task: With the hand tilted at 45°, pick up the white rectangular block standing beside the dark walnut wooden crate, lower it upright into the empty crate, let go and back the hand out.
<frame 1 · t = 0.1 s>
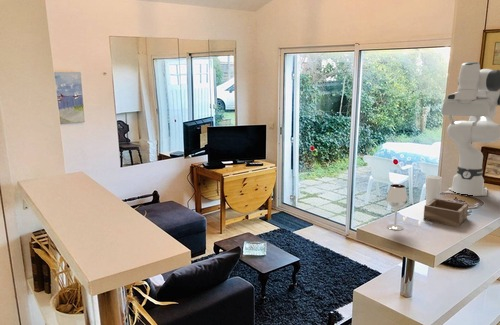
hand: (463, 125, 189), 39 cm above the table, tool pointing down, fingers open, 8 cm apart
white rectangular block: (431, 207, 190), on the table
wineglass: (394, 227, 164), on the table
walnut crate: (445, 219, 173), on the table
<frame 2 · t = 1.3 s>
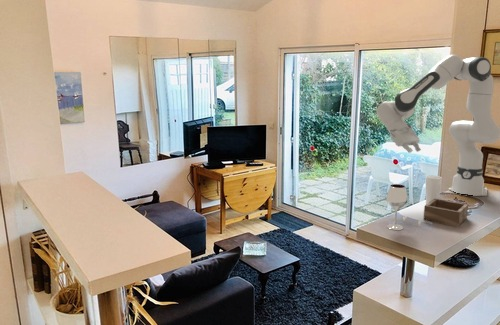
hand: (415, 151, 193), 26 cm above the table, tool tilted 45°, fingers open, 8 cm apart
nothing on the table moved.
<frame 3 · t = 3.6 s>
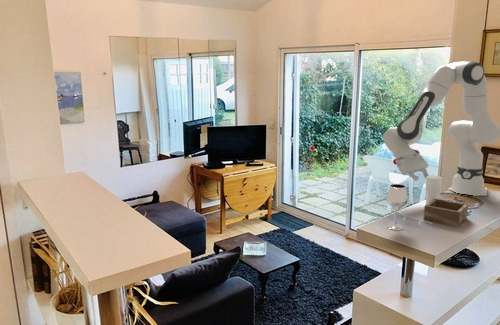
hand: (422, 178, 192), 13 cm above the table, tool tilted 45°, fingers open, 8 cm apart
nothing on the table moved.
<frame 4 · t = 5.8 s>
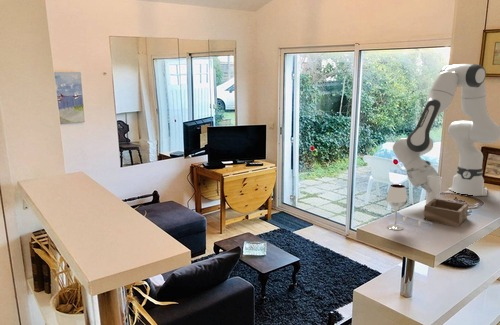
hand: (434, 190, 188), 8 cm above the table, tool tilted 45°, fingers closed on white rectangular block, 6 cm apart
white rectangular block: (431, 207, 190), on the table, touching gripper
everything else where it was.
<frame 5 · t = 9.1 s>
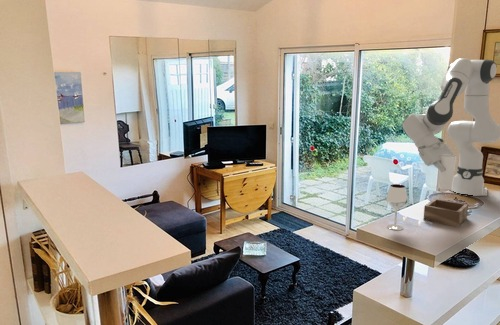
hand: (448, 169, 171), 22 cm above the table, tool tilted 45°, fingers closed on white rectangular block, 6 cm apart
white rectangular block: (444, 189, 173), point 13 cm above the table, touching gripper
everything else where it was.
when the fingers open (11 cm above the table, at t = 12.3 s): white rectangular block moves 1 cm, resting on walnut crate.
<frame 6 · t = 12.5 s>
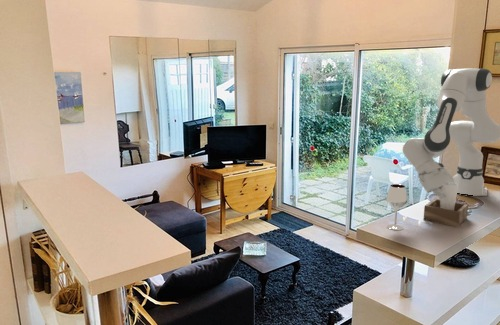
hand: (448, 195, 171), 11 cm above the table, tool tilted 45°, fingers open, 8 cm apart
white rectangular block: (446, 216, 174), point 1 cm above the table, touching gripper, walnut crate
everything else where it was.
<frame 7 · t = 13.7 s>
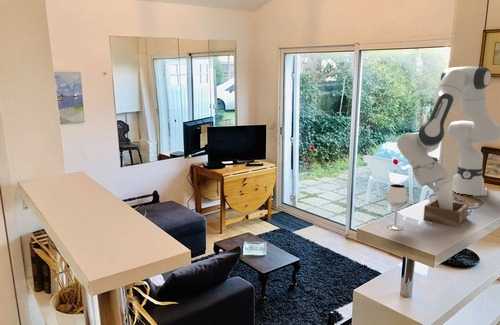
hand: (442, 189, 173), 13 cm above the table, tool tilted 45°, fingers open, 8 cm apart
white rectangular block: (446, 214, 176), point 1 cm above the table, touching walnut crate
everything else where it was.
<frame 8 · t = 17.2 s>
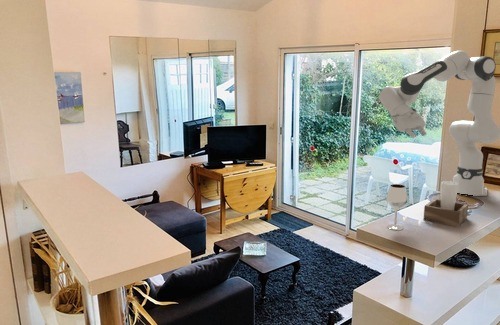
hand: (419, 136, 186), 34 cm above the table, tool tilted 45°, fingers open, 8 cm apart
at the end: white rectangular block 2.8 cm off-centre on the walnut crate, point 0.8 cm above the walnut crate's base; white rectangular block tilted 0°; the gripper is holding nothing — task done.
